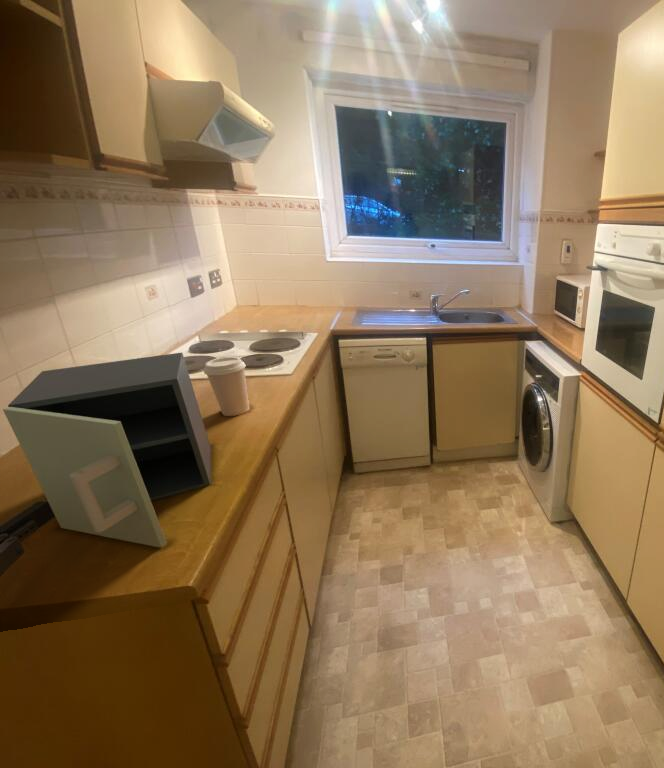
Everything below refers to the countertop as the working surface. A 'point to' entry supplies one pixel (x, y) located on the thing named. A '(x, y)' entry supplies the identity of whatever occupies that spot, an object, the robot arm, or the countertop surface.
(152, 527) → the door
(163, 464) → the cupboard
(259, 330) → the countertop surface
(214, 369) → the coffee cup
